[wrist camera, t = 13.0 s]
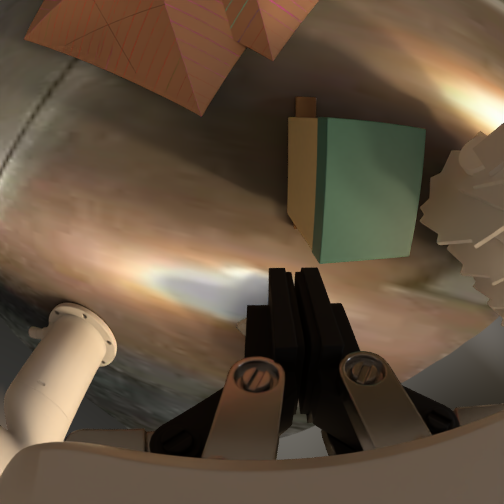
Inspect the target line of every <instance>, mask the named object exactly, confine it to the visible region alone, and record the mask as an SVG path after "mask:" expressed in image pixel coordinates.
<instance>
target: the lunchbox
mask: <svg viewBox="0 0 504 504" xmlns="http://www.w3.org/2000/svg"><path fill="white" fill-rule="evenodd" d="M425 137H426V129H423V128H417V127H411V126H404V125H398V124H391V123H383V122H375V121H366V120H356V119H345V118H331V117H318V118H304V117H288V203H287V214H288V215H289V217H290V218H291V220H292V221H293V223H294V224H295V226H296V227H297V229H298V230H299V231H300V233H301V234H302V236H303V237H304V239H305V240H306V242H307V243H308V245H309V246H310V248H311V249H312V253H313V254H314V256H315V257H316V259H317V261H318V262H319V264H323V263H336V262H348V261H361V260H373V259H384V258H396V257H407V256H409V254H410V249H411V244H412V239H413V234H414V228H415V223H416V217H417V210H418V204H419V197H420V189H421V181H422V172H423V162H424V151H425Z"/></svg>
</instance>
